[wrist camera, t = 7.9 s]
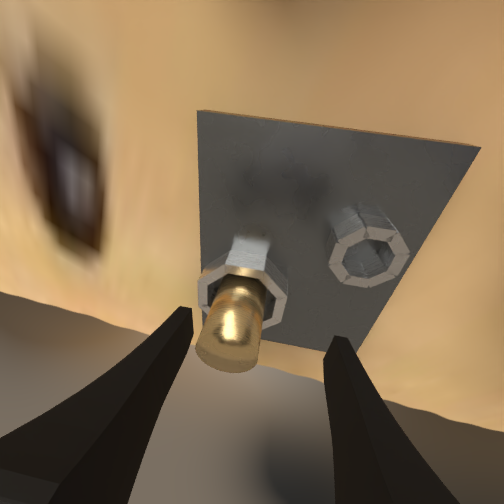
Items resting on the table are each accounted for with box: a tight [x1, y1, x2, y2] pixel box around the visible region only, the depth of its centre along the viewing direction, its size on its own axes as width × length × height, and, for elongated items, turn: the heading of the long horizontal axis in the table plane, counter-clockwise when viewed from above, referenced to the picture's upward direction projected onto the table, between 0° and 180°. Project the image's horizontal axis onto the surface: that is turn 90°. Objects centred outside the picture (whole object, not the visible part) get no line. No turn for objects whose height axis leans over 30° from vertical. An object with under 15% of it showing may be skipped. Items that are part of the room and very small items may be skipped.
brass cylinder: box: [195, 273, 267, 373], centre depth 17 cm, size 4×4×7 cm
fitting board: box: [197, 110, 481, 352], centre depth 18 cm, size 16×20×4 cm
